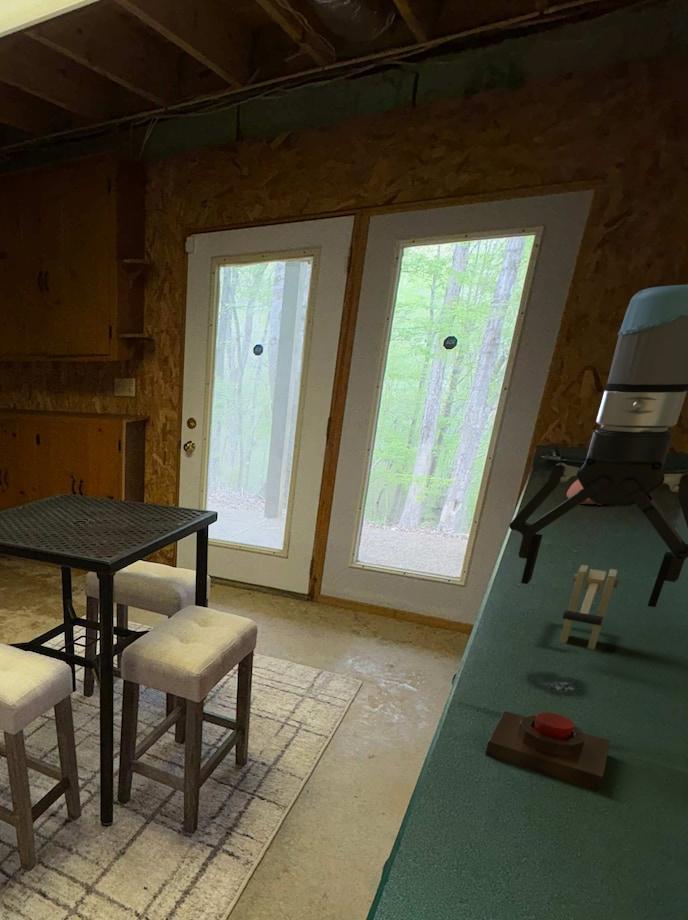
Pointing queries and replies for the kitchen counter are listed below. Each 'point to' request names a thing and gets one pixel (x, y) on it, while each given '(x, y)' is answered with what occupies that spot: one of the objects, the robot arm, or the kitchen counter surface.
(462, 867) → the kitchen counter surface
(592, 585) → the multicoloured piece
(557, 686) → the blueberries
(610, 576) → the light wood frame
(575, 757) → the brown button housing
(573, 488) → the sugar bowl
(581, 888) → the kitchen counter surface
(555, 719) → the button
